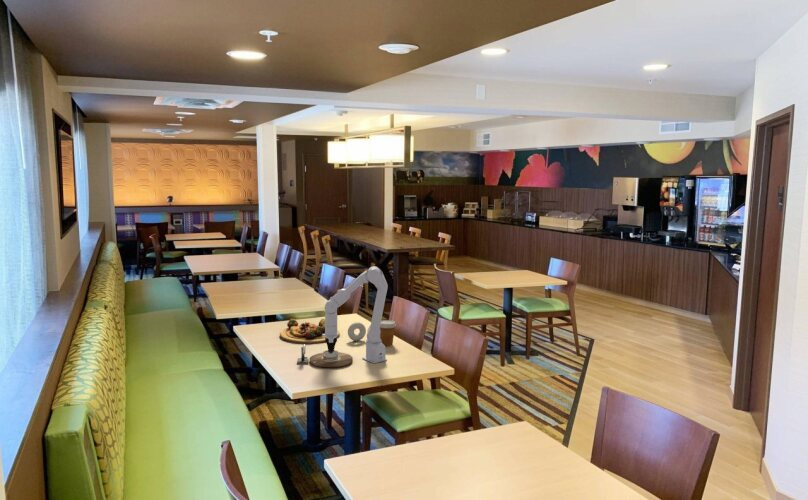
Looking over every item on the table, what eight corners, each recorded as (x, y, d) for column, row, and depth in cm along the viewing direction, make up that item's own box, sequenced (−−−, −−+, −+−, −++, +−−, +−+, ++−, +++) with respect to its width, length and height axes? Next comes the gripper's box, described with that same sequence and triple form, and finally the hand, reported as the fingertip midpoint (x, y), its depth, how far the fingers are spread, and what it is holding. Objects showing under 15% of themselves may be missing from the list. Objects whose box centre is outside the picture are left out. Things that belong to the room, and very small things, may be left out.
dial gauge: (297, 364, 269) (297, 346, 268) (297, 360, 274) (297, 343, 273) (308, 363, 270) (308, 346, 269) (308, 360, 275) (308, 342, 274)
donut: (364, 339, 312) (364, 320, 311) (366, 340, 309) (367, 322, 308) (346, 340, 308) (346, 322, 307) (348, 342, 305) (348, 323, 304)
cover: (341, 359, 273) (341, 352, 272) (328, 361, 268) (328, 355, 268) (333, 355, 278) (333, 349, 278) (320, 357, 274) (320, 351, 273)
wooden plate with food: (268, 334, 318) (268, 320, 317) (317, 324, 340) (317, 311, 338) (300, 349, 295) (300, 333, 294) (351, 338, 316) (351, 323, 315)
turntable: (361, 361, 272) (361, 359, 272) (324, 370, 260) (324, 368, 259) (336, 351, 288) (336, 349, 287) (301, 359, 275) (301, 357, 274)
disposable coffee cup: (379, 347, 297) (379, 324, 295) (375, 342, 306) (375, 320, 304) (397, 346, 299) (398, 323, 298) (393, 341, 309) (393, 319, 307)
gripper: (322, 321, 283) (322, 348, 284) (322, 329, 268) (322, 358, 270) (337, 321, 284) (337, 348, 285) (337, 329, 269) (337, 357, 271)
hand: (331, 353), depth 278 cm, fingers closed
